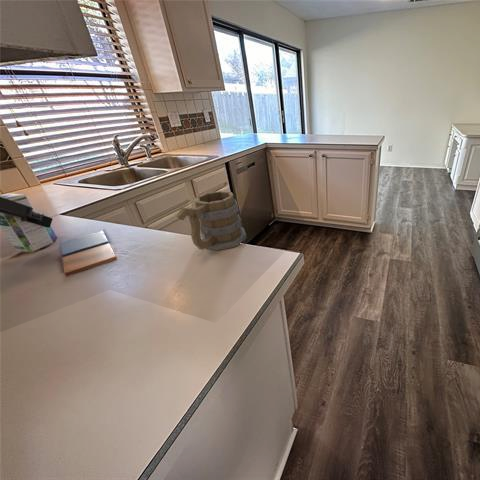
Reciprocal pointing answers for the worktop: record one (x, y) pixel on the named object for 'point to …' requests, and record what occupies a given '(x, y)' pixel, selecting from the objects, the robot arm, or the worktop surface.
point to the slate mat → (83, 243)
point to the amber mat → (88, 259)
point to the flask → (51, 234)
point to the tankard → (215, 221)
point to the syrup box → (23, 228)
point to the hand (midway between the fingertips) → (37, 223)
